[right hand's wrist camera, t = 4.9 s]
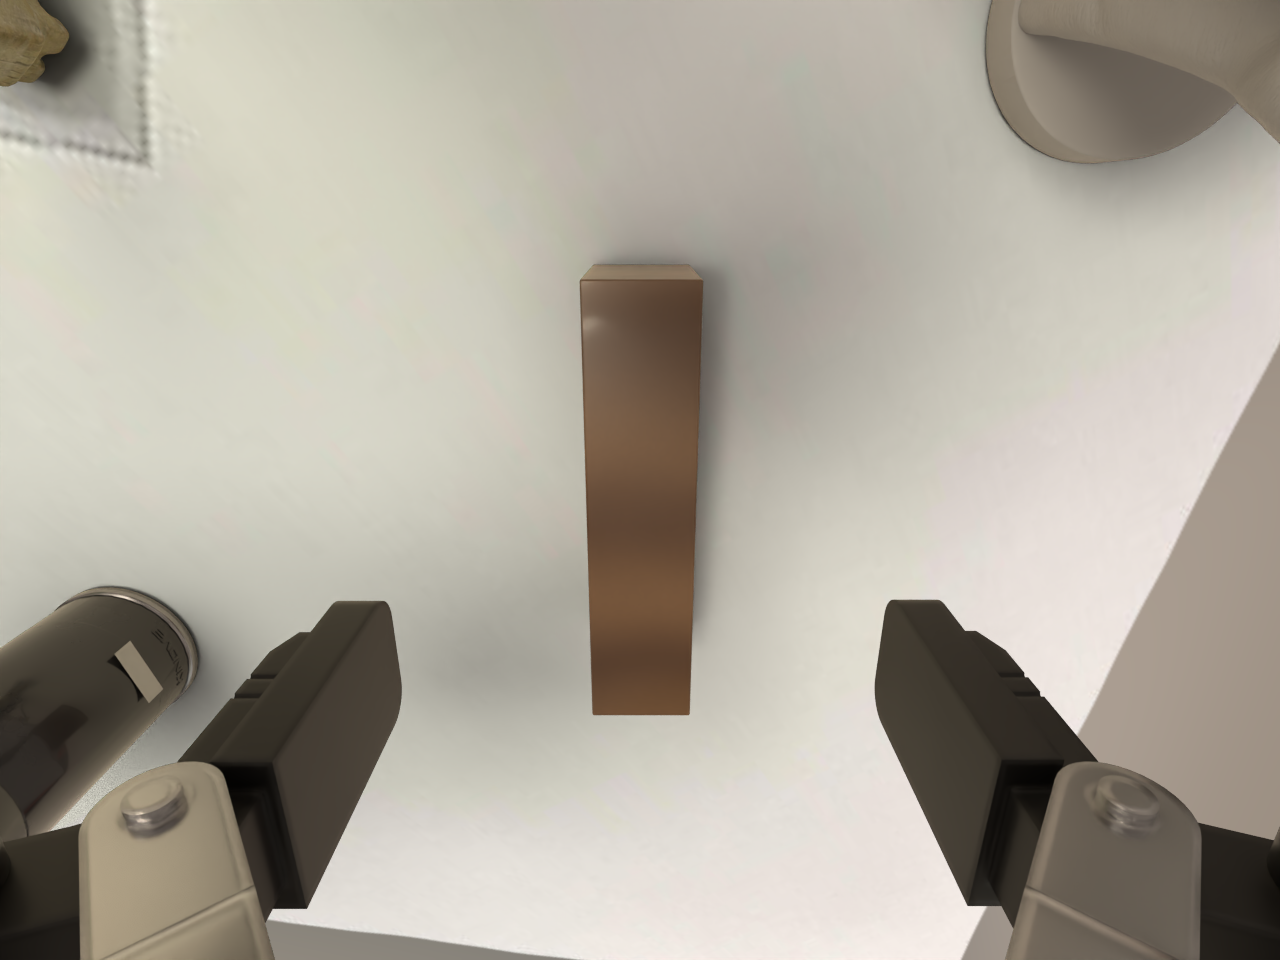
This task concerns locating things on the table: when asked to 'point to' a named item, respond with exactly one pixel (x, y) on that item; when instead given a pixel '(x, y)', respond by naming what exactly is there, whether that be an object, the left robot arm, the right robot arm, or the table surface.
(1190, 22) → the bust sculpture
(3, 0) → the sculpture
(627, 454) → the bar
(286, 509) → the table surface
